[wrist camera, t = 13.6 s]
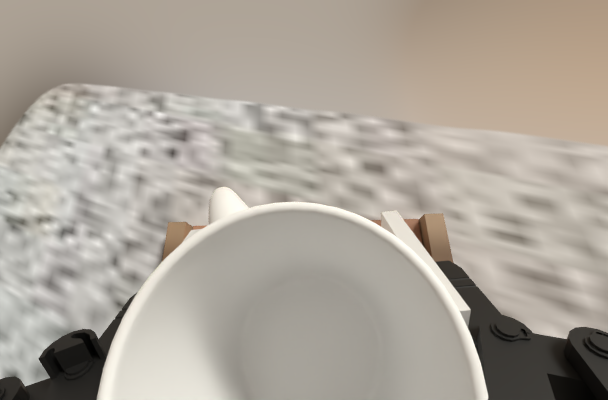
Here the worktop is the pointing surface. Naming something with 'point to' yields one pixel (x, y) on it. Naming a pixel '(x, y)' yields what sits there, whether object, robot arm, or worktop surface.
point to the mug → (291, 315)
